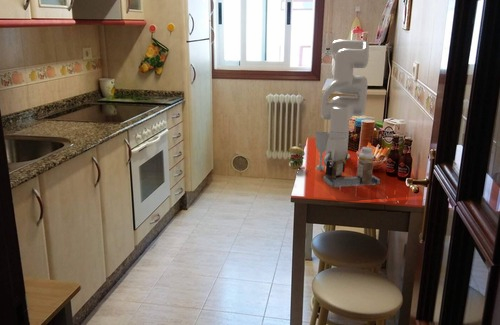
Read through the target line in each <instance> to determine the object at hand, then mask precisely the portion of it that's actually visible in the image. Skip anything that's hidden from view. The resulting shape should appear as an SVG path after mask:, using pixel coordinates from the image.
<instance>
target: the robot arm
mask: <svg viewBox="0 0 500 325" xmlns="http://www.w3.org/2000/svg"><path fill="white" fill-rule="evenodd" d="M331 54H332V56H333V59H334V69H333V70H334V71H333V81H332V82H331V83H330V84H329V85H328V86H327V87H326V89H325V90H324V91H323V94H322V97H321V102H320V103H321V104H320V116H321V118H322V119H323V120H325V121H326V120H327V121H328V120H329V121H330V122H329V132H328V133H329V138H328V141H327V146H326V150H325V152H324V154H325V156H324V157H323V163H324V164H325V166H324V167H325V176H328V175H329V176H332V172H333V167H332V165H333V163H334V162H336V161H339V160H342V159H343V172H342V173H344V172H345V170H346V169H345V167H346V163H347V160H348V159H351V158H350V157H351V155H350V154H349V153H350V152H348V146H349V138H350V137H349V136H350V134H349V133H350V122H349V121H350V120H351V119H352V118H353V117H362V116H364V115H365V113H366V108H367V94H368V79H367V77H365V75H359V74H357V75H356V74H354V69H365V68H366V67H368V62H369V57H370V45H369V42H368V41H367V40H363V39H362V40H361V39H359V40H357V39H336V40H333V41H332V43H331ZM333 93H337V94H340V96H339V95H338V96H334V97H333V98H332V99H331V100H330V102H328V100H329V98H330V96H331V95H332V94H333ZM341 94H342V96H341ZM343 95H344V96H343ZM345 95H352V96H345ZM354 95H355V96H354ZM330 159H332V160H330ZM329 162H331V163H329Z"/></svg>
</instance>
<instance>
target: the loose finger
mask: <svg viewBox="0 0 500 325" xmlns="http://www.w3.org/2000/svg"><path fill="white" fill-rule="evenodd" d="M330 160H332V159H330ZM329 163H331V162H329ZM332 167H333V172H332V176H329V175H327V177H329V178H337V177H343V173H344V172H343V159H342V160H339V161H336V162H334V163H333V165H332Z"/></svg>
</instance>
